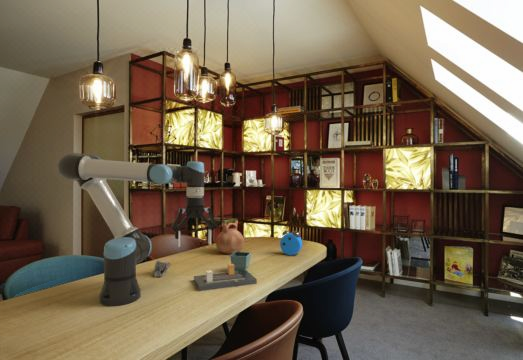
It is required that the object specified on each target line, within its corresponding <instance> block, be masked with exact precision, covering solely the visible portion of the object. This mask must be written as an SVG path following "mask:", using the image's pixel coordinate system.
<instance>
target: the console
mask: <svg viewBox="0 0 523 360" xmlns="http://www.w3.org/2000/svg"><path fill="white" fill-rule="evenodd" d="M193 281H194V283H195V285H196V287H197V288H198V291H199V292H202V291H210V290H218V289H226V288H233V287H240V286H249V285H256V284H257V283H258V282H257V281H258V279H257V278H256V277H255V276H254V275H252V274H251V273H250V272H249V271H248V269H247V270H244V271H234V274H231V275H229V274H228V271H224V272H216V273H213V282H206V274H200V275H195V276H194V275H193Z"/></svg>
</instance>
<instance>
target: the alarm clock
mask: <svg viewBox="0 0 523 360" xmlns="http://www.w3.org/2000/svg"><path fill="white" fill-rule="evenodd" d="M281 234H282V237H281V238H280V242H279V246H280V250H281V251H282V252H283V253H284V254H285V255H288V256H295V255H298V253H299V252H301V250H302V248H303V241H302V237H301V234H300V232H299V231H297V230H294V231H293V232H290V231H289V230H284V231H282V233H281Z"/></svg>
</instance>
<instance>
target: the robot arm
mask: <svg viewBox="0 0 523 360" xmlns="http://www.w3.org/2000/svg"><path fill="white" fill-rule="evenodd" d="M56 169H57V172H58V174H59V175H60V176H61V177H62V178H64V180H68V181H74V182H75V181H76V183H77V184H78V186H79V188H80V189H82V190H85V191H86V192H87V193H88V195H89V196H90V198H91V200H92V201H93V204H94V205H95V206H96V208H97V210H98V211H99V213H100V214H101V217H102V218H103V220H104V221H105V223H106V225H107V227H108V228H109V230H110V231H111V233H112V235H113V236H114V238H112V239H110V240H108V241H107V242H105V244H104V247H103V278H104V279H103V284H102V287H101V291H99V292H100V293H99V297H98V301H99V304H100V305H102V306H103V305H104V306H109V307H110V306H113V307H114V306H122V305H128V304H131V303H134V302H136V301H137V300H139V299H140V298H141V296H142V294H141V293H142V292H141V287H140V284H139V282H138V279H137V265H138V264H140V263H141V262H143V261H144V260H146V259H147V257H148V256H150V254H151V252H152V250H153V249H152V248H153V247H152V245H153V244H152V241H151V238H150V237H148V236H147V235H145V234H143V233H142V232H141V230H140V229H139V227H135V226H133V223H132V222H131V219H129V217H128V215H127V213H126V212H125V210H124V209H123V207H122V205H121V204H120V202H119V200H118V198H117V197H116V196H115V194H114V192H113V191H112V189H111V187H110V186H109V184H108V182H107V180H115V181H116V180H118V181H125V182H126V181H130V182H142V183H153V184H158V185H164V184H186V201H185V202H186V204H185V205H186V206H185V208H181V207H179V208H178V211H177V212H178V213H177V215H176V216H175V218H174V220H173V223H172V224H171V227H170V230H171V231H174V238H175V240H176V241H177V243H176V244H177V247H178V248H180V247H181V228H183V226H184V225H185V223H187V221H189V220H190V219H200V218H201V219H202V221H203V222H204V223H205V224H206V226H207V227H208V229H207V231H208V232H207V243H208V245H209V246H210V245H212V238H213V237H214V232H215V231H214V230H215V229H218V227H219V226H218V224H217V222H216V219H215V217H214V215H213V213H212V209H211V207H209V206H207V207H204V206H205V198H204V195H205V173H206V172H205V163H204V162H202V161H187V163H186V165H182V166H181V165H170V164H168V165H166V164H163V163H161V164H160V163H158V164H157V163H146V162H134V161H133V162H132V161H123V160H121V161H120V160H109V159H101V158H100V157H98V155H95V154H94V155H93V154H91V153H78V152H69V153H65V154H63V155H62V156H61V157H60V158H59V159H58V161H57V165H56ZM205 212H206V213H207V215H208V218H209V219H210V221H211V222H210V221H208V219H207V218H206V217H205V215H204V213H205ZM185 213H186V215H185V216H184V218H183V219H182V220H181V218H182V215H183V214H185ZM180 220H181V221H180ZM211 223H212V224H211Z"/></svg>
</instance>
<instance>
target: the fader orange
mask: <svg viewBox="0 0 523 360" xmlns="http://www.w3.org/2000/svg"><path fill="white" fill-rule="evenodd" d="M226 266H227V272H228V274H229V275H231V274H234V267H235V265H234V264H231V263H228V264H227V265H226Z"/></svg>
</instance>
